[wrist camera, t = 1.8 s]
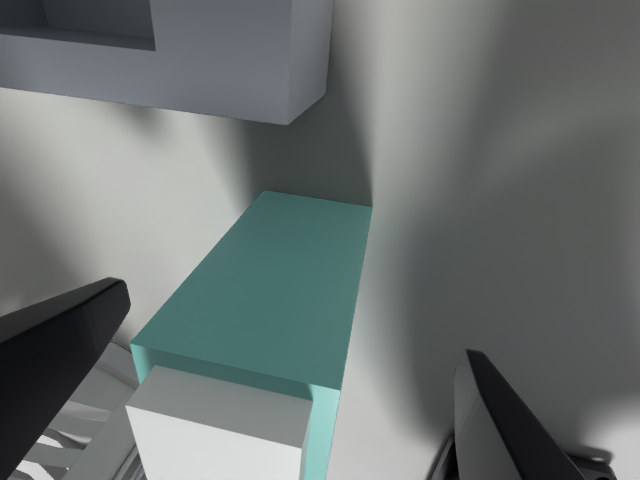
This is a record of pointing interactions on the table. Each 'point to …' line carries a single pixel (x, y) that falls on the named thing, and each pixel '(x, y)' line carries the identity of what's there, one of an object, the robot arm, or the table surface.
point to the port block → (172, 53)
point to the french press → (94, 427)
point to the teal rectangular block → (253, 347)
